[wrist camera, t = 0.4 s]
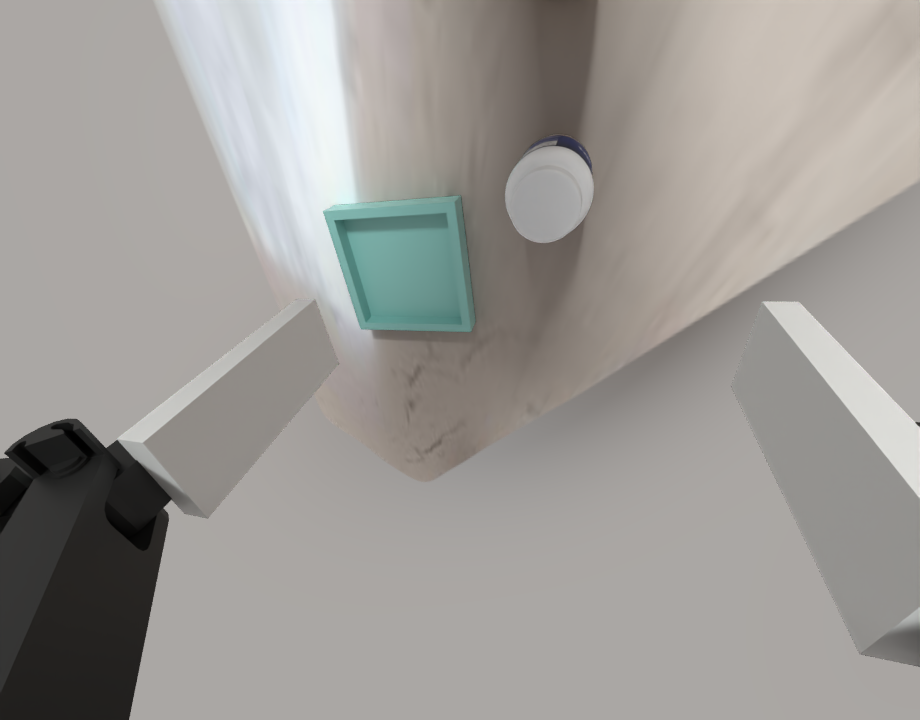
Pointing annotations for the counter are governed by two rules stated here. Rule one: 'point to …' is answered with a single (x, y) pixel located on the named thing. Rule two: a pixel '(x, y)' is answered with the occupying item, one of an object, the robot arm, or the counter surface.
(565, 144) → the pill bottle
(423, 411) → the counter surface
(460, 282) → the tray
